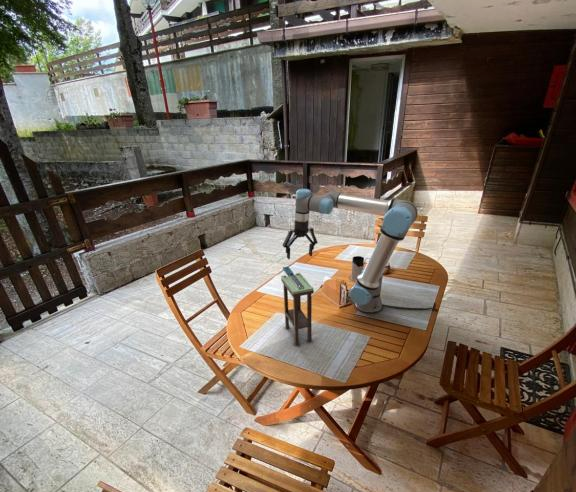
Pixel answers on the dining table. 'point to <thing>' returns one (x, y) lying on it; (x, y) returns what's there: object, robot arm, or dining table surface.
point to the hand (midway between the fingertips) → (299, 256)
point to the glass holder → (357, 267)
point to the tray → (293, 287)
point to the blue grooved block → (293, 277)
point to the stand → (298, 313)
